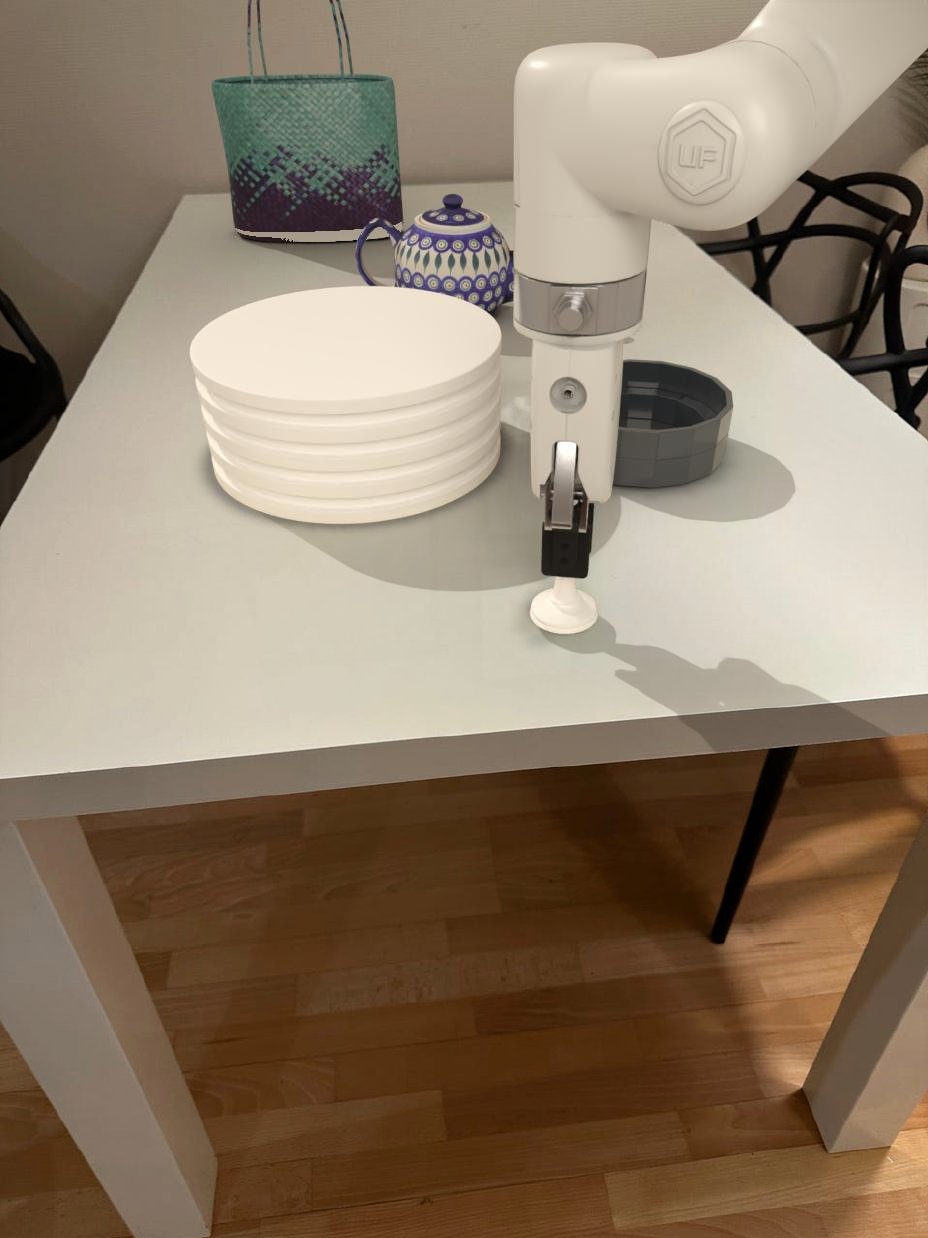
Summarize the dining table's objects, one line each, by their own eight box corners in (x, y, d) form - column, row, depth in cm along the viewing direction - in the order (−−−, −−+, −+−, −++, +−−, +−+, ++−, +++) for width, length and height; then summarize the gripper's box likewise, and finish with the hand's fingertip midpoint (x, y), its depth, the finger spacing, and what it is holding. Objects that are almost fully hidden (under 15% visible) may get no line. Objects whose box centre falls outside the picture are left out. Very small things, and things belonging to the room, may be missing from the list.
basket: (407, 223, 154) (392, -69, 130) (401, 243, 145) (383, -69, 120) (244, 225, 155) (199, -66, 131) (227, 244, 146) (175, -65, 121)
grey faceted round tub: (719, 420, 92) (728, 364, 88) (725, 499, 80) (737, 438, 76) (562, 410, 95) (565, 355, 91) (544, 485, 82) (547, 424, 78)
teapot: (350, 333, 113) (338, 208, 104) (371, 294, 125) (362, 179, 116) (548, 337, 111) (554, 210, 102) (550, 297, 123) (555, 180, 114)
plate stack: (188, 420, 94) (164, 311, 87) (434, 373, 103) (430, 271, 96) (252, 554, 74) (228, 426, 67) (551, 481, 82) (557, 361, 75)
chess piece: (516, 618, 65) (517, 498, 59) (553, 587, 68) (557, 469, 62) (574, 643, 63) (581, 519, 57) (610, 608, 66) (620, 488, 60)
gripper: (639, 351, 45) (614, 638, 56) (647, 259, 57) (625, 509, 68) (492, 346, 46) (495, 627, 57) (531, 257, 58) (528, 503, 70)
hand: (566, 561), depth 63 cm, fingers closed on chess piece
